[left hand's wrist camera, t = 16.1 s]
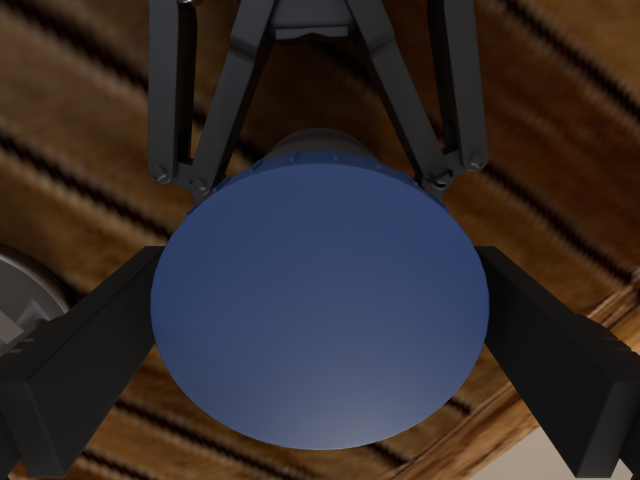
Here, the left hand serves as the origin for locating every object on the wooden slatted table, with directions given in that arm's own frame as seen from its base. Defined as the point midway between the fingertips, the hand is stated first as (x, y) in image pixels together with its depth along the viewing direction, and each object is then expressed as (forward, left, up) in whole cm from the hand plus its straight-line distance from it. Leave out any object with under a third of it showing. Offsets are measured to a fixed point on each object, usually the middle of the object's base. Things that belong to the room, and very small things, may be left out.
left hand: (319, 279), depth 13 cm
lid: (0, 0, +3) cm, 3 cm away
